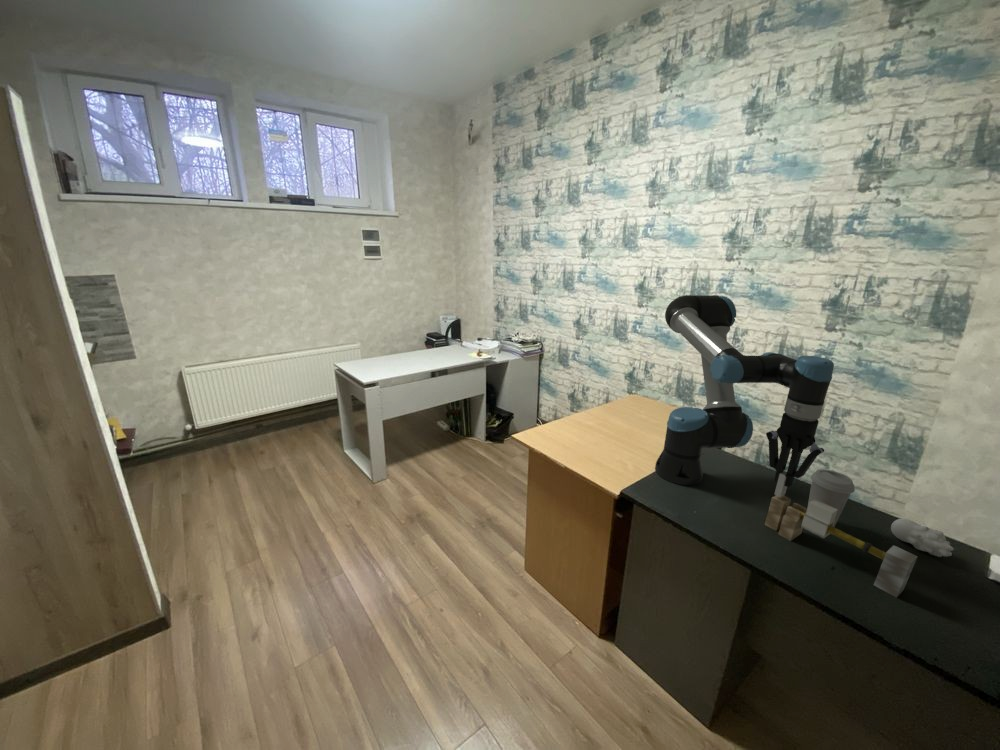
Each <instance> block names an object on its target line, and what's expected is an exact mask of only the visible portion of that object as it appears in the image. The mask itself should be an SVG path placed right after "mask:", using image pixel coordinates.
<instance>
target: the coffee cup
mask: <svg viewBox="0 0 1000 750" xmlns="http://www.w3.org/2000/svg"><path fill="white" fill-rule="evenodd" d="M810 479H811V484H810V489H809V496H808V497H809V498H808V503H807V507H806V508H808V505H809V502H811V501H812V500H814V499H816V500H818V501H820V502H822V503H825V504H827V505H829V506H831V507H833V508H836V509H838V511H837V514H836V517H835V522H834V525H833V527H834V528H836V524H838V520H839V518H840V517H841V515H842V512H843V511H844V508H845V506H846V505H847V504H846V503H848V500H849V498H850V496H851V494H852V493H854V492H855V490H856V489H855V485H854V482H853V480H852V478H850V477H849V476H847V475H846V474H843V473H841V472H839V471H835V470H831V469H825V468H823V469H822V468H821V469H817V470H816V471H815V472H812V474H811V475H810Z"/></svg>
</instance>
